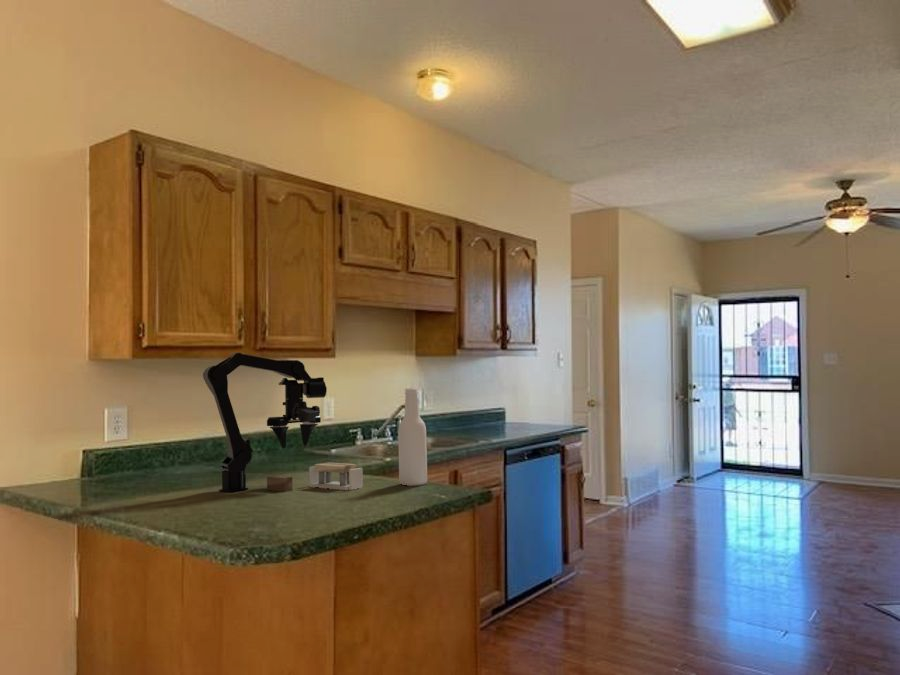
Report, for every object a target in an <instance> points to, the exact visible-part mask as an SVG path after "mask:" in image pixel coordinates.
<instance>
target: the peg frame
mask: <svg viewBox="0 0 900 675" xmlns="http://www.w3.org/2000/svg"><path fill="white" fill-rule="evenodd" d="M363 468H364V467H358V468H357V467H356V469H351V470H349V472H346V473H339V481H332V480H333V478H332V477H333V476H332V475H333V474H332V473H333V472H322V471H315V465H313V466H309V467H308V474H309V475H308V479H309V480H308V481H309V484H308V485H309V486H308V487H310V488H315V487H319V488H318V489H327V488H329V490H338V489H339V491H348V489H349V491H353V489H354V490H358V489H357V488H359V489H363V488H362V487H364V482H363V481H364V479H363V478H364V475H363V474H364V473H363V472H364V470H363Z"/></svg>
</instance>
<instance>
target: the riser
mask: <svg viewBox="0 0 900 675" xmlns="http://www.w3.org/2000/svg"><path fill="white" fill-rule="evenodd" d="M266 491H277V492H285V493H286V492H291V491H293V476H285V475H270V476H267V477H266Z"/></svg>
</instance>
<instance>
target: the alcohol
mask: <svg viewBox="0 0 900 675" xmlns="http://www.w3.org/2000/svg"><path fill="white" fill-rule="evenodd" d="M418 390H419V389H418V388H416V387H415V388H412V387H411V388H405V389H404V396H405V397H404V398H405V399H404V400H405V401H404V413H403V414H404V416H403V418H402V419H401V421H400V423H399V424H398V428H397V432H398V433H397V434H398V438H397V439H398V477H399V478H398V480H399V484H400V485H401V484H402V485H401V486H403V485H407V486H406V487H418V486H425V485H426V484H427V482H428V455H427V454H428V453H427V452H428V451H427V427H426V426H427V425H426V423H425V421H424V420H423V419H422V417H421V415H420V410H419V409H420V408H419V399H418Z"/></svg>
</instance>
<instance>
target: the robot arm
mask: <svg viewBox="0 0 900 675" xmlns="http://www.w3.org/2000/svg"><path fill="white" fill-rule="evenodd" d="M238 367H246V368H251V369H256V370H262V371H268V372H273V373H276V374H278V375H280V376H282V377H283V378H282V379H281V381H279V382H278V385H279V386H284V402H282V406H285V408H284V410H285V414H282V416H269V417H268V418H267V419H266V426H267V427H269V428H270V429H271V430H272V431H273V433H274V434H275V435H276V438H277V440H278V441H279V443H280V446H281V448H282V449H286V447H287V431H288V429H289V428H290V426H288V424H297V423H298V424H299V427H300V428H299V429H300V433H301V440H302V445H303V446H308V442H309V440H310V437H311V434H312V431H313V430H314V428H315V427H316V426H318V425H319V424H320V423H322V422H321V421H322V420H321V415H320V414H321V409H320V406H318V405H312V407H310V406H307V404H308V403H307V401H304V396H305V397H306V399H318V398H319V399H320V398H322V399H323V398H325V397H326V396H327V389H328V388H327V385H326V382H325V381H324V380H325V379H324V377H311V376H310V374H309V373H308V372H307V371H306V368H305V364H304V362H303V361H301V360H298V359H283V360H282V359H271V358H267V357H260V356H256V355H250V354H246V353H242V352H235V353H232V354H231V355H230V356H228V357H227V358H225V359H224V360H222V361H221V362H219V363H217V364H216V365H211V366H210V365H209V366H208V367H205V369H204V371H203V372H202V378H203V380H204V382H205V384H206V387H207V388H208V389H209V391H210V392H211V393H212V396H213V398H214V400H215V403H216V406H217V410H218V414H219V417H220V419H221V423H222V426H223V429H224V433H225V436H226V450H227V456H226V457H225V458H224V459H223V460H222V461H221V462H220V466H221V469H222V471H221V488H220V489H218V492H226V493H234V492H239V491H246V490H249V487H247V474H246V472H245V471H246V467H247V465H248V464H249V463H250V462H251V460H252V457H253V454H252V453H253V452H254V450H253V448H252V447H251V441H250V439H249V438H245V437H243V436H242V434H241V431H240V427H239V424H238V421H237V417H236V415H235V410H234V409H233V405H232V402H231V399H230V395H229V392H228V391H229V390H228V389H229V382H228V381H229V380H228V376H229V375H230V374H231V373H233V371H235V370H237V368H238ZM318 423H319V424H318Z"/></svg>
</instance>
